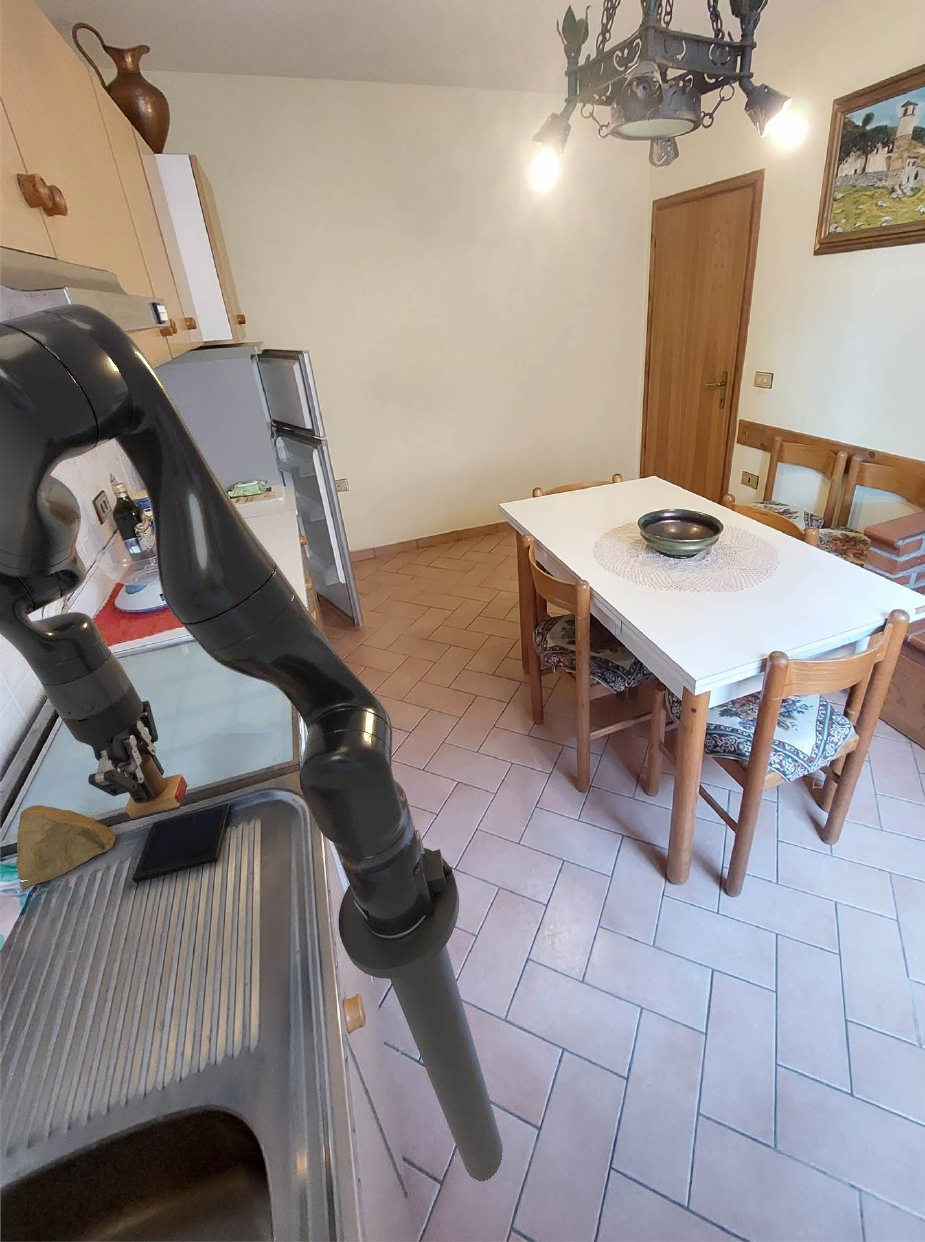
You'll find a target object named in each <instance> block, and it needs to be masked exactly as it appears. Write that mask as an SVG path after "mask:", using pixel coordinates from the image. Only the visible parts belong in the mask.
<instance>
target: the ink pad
mask: <svg viewBox="0 0 925 1242" xmlns="http://www.w3.org/2000/svg"><path fill="white" fill-rule="evenodd" d="M231 811H232V805H231V804H230V803H227V804H222V805H219V806H214V807H210V808H206V809H202V810H198V811H194V812H190V813H187V814H182V815H178V816H174V817H170V818H166V819H161V820H158V821H153V823H152V825H151V828H150V830H149V833H148V836H147V838H146V841H145V844H144V846H143V849H142V852H141V854H140V857H139V859H138V862H137V865H136V867H135V870H134V872H133V875H132V878H131V880H132V881H133V883H135V884H136V883H140V882H145V881H148V880H152V879H155V878H160V877H163V876H167V875H171V874H174V873H178V872H182V871H186V870H189V869H194V868H197V867H202V866H204V865H208V864H213V863H215V862H219V859H220V855H221V851H222V848H223V843H224V839H225V834H226V831H227V828H228V823H229V820H230V815H231Z"/></svg>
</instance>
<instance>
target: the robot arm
mask: <svg viewBox="0 0 925 1242" xmlns="http://www.w3.org/2000/svg"><path fill="white" fill-rule="evenodd" d="M112 440H115V441H116V442H115V443H117V444H118V446H119V447H120V449H121V450H122V452H123V453H124V455H125V456H126V458H127V460H128V461H129V462H130V464H131V466H132V467H133V469H134V472H135V473H136V474H137V476H138V477H139V480H140V482H141V484H142V486H143V488H144V490H145V493H146V496H147V499H148V502H149V506H150V511H151V517H152V518H151V519H152V524H153V534H154V535H153V536H154V544H155V556H156V566H157V572H158V573H157V574H158V579H159V585H160V589H161V593H162V596H163V599H164V601H165V603H166V605H167V607H168V608H169V610H170V612H171V614H172V615H173V616H174V617H175V618H176V619H177V621H178V622H179V623H180V624H181V625H182V626H183V628H185V630H187V632H188V633H189V634H190V636H191V637H192V638H193V639H194V640H195V641H196V643H197V644H198V645H199V646H200V647H201V648H202V650H203V651H204V652H205V653H206V654H207V655H209V657H210V658H211V659H212V660H214V661H215V662H216V663H218V664H219V665H221V666H223V667H224V668H226V669H227V670H230V671H233V672H235V673H238V674H240V675H243V676H246V677H249V678H251V679H255V680H259V681H261V682H265V683H267V684H269V685H272V686H274V687H276V688H277V689H278V690H279V691H280V692H281V693H282V695H284V696H285V697H286V698H287V699H288V701H289V702H290V703H291V705H292V706H293V707H294V708H295V710H296V711H297V713H298V714H299V716H300V717H301V720H302V721H303V722H304V725H305V727H306V732H307V736H306V741H305V744H304V750H303V754H302V759H301V764H300V768H299V786H300V790H301V794H302V796H303V799H304V801H305V804H306V806H307V808H308V809H309V811H310V814H311V815H312V818H313V819H314V822H315V823H316V826H317V827H318V829H319V831H320V833H321V834H322V835H323V836H324V837H325V838H326V839H327V840H328V841H330V842H331V843H333V846H334V849H335V851H336V854H337V856H338V859H339V862H340V864H341V866H342V868H343V871H344V873H345V877H346V878H347V881H348V883H349V885H350V886H351V889H352V891H353V894H354V896H355V898H356V901H357V903H358V905H357V903H356V902H355V901H354V902H355V905H356V906H357V907H358V909H359V910H360V911H361V914H362V917H363V920H364V923H365V925H366V927H367V929H368V930H369V931H370V933H371V934H373V935H374V936H375V937H377V938H380V939H383V940H397V939H401V938H404V937H406V936H408V935H410V934H411V933H413V932H414V931H415V930H417V929H418V928H419V927H420V926H421V925H422V924H423V922H424V921H425V919H426V918H428V917H431V916H434V914H435V911H434V901H433V893H436V892H439V891H443V890H446V889H447V887H446V879H445V878H446V877H448V876H449V875H451V873H452V872H453V867H451V866H450V865H449V866H444V864H443V859H444V858H443V855H442V851H441V849H440V848H438V849H435V850H432V851H431V852H428V853H425V851H424V848H425V847H424V844H423V841H422V837H421V833H420V830H419V829H416V826H415V824H414V820H413V815H412V812H411V809H410V805H409V801H408V798H407V795H406V792H405V789H404V788H403V787H402V785H401V784H400V783H399V782H397V780H395V778H394V775H393V769H392V765H393V764H392V762H393V759H392V756H393V725H392V722H391V719H390V716H389V713H388V711H387V710H386V708H385V706H384V705H383V704H382V703H381V701H380V700H379V699H378V698H377V697H376V696H375V695H374V693H373V692H372V691H370V689H369V688H368V687H367V686H366V685H365V683H364V682H363V681H362V680H361V679H360V678H359V677H358V676H357V675H356V674H355V673H354V672H353V670H352V669H351V668H350V667H349V666H348V665H347V663H345V661H344V660H343V659H342V657H341V656H340V655H339V653H338V652H337V651H336V649H335V648H334V646H333V644H332V643H331V642H330V641H329V639H328V637H327V636H326V634H325V633H324V631H323V630H322V628H321V627H320V625H319V624H318V623H317V622H316V619H315V618H314V617H313V616H312V615H311V613H310V611H309V610H308V608H307V607H306V605H305V604H304V603H303V601H302V599H301V597H300V596H299V594H298V593H297V591H296V589H295V588H294V587H293V586H292V584H291V582H290V581H289V579H288V578H287V576H286V575H285V574H284V573H283V571H282V569H281V568H280V566H279V565H278V563H277V562H276V561H275V559H274V558H273V556H272V555H271V554H270V553H269V552H268V550H267V549H266V547H265V546H264V545H263V543H261V541H260V540H259V538H258V537H257V536H256V534H255V533H254V531H253V530H252V529H251V526H250V525H249V524H248V523H247V521H246V520H245V519H244V517H243V516H242V514H241V513H240V511H239V509H238V508H237V506H236V505H235V503H234V502H233V500H232V499H231V498H230V496H229V494H228V493H227V491H226V489H225V488H224V487H223V485H222V483H221V482H220V480H219V479H218V477H217V476H216V474H215V473H214V471H213V469H212V468H211V466H210V465H209V462H208V461H207V460H206V457H205V455H204V454H203V452H202V450H201V448H200V447H199V445H198V442H197V441H196V440H195V437H194V436H193V434H192V431H190V429H189V427H188V425H187V423H186V422H185V420H184V418H183V416H182V414H181V413H180V411H179V409H178V407H177V406H176V404H175V402H174V400H173V398H172V397H171V395H170V393H169V391H168V390H167V388H166V387H165V384H164V383H163V381H162V380H161V378H160V377H159V375H158V373H157V371H156V370H155V368H154V367H153V365H152V364H151V362H150V361H149V360H148V358H147V357H146V356H145V354H144V353H143V351H142V349H140V347H139V346H138V344H137V343H136V341H134V339H133V338H132V337H131V336H130V335H129V334H128V333H127V332H126V331H125V330H124V329H123V328H122V327H121V326H120V325H119V324H118V322H116V321H115V320H113V319H112V318H111V317H109V316H108V315H106V314H105V313H104V312H102V311H100V310H99V309H96V308H94V307H91V306H89V305H86V304H80V303H69V304H62V305H58V306H54V307H50V308H46V309H42V310H38V311H35V312H33V313H29V314H25V315H21V316H18V317H14V318H10V319H6V320H3V321H0V635H1V636H2V637H3V638H4V639H5V640H7V641H8V642H9V643H10V644H11V645H12V646H13V647H14V648H15V649H16V650H17V651H18V652H19V654H21V656H22V657H23V658H24V659H25V661H26V662H27V664H28V665H29V667H30V669H31V670H32V672H33V673H34V674H35V676H36V678H37V679H38V681H39V682H40V684H41V685H42V688H43V690H44V692H45V695H46V697H47V699H48V700H49V702H50V704H51V705H52V707H53V708H54V710H55V711H56V713H57V714H58V715H59V717H60V719H61V720H62V722H63V723H64V724H65V726H66V727H67V730H68V731H69V732H70V733H71V735H72V736H73V738H74V739H75V740H76V741H77V742H78V743H82V744H85V745H88V746H89V747H91V748H92V750H93V754H94V755H93V756H94V758H95V759H96V762H97V761H98V765H97V769H96V772H94V773H91V774H89V775H88V777H87V782H88V784H89V785H90V786H92V787H94V788H95V789H98V790H100V791H102V792H104V793H106V794H108V795H109V796H112V797H116V796H119V795H123V794H127V793H128V794H129V797H130V796H131V797H132V799H133V800H134V802H135V803H143V802H148V801H151V800H153V799H154V796H155V792H154V791H153V789H152V787H151V786H150V784H149V782H148V781H147V779H146V778H145V777H144V775H143V773H142V771H141V768H140V764H141V763H142V759H141V757H140V754H149V755H150V756H151V758H152V759H153V761H154V763H155V765H156V766H157V768H158V770H159V771H160V773H161V775H162V777H163V775H164V774H165V770H164V768H163V767H162V764H161V762H160V760H159V759H158V756H157V755H156V753H157V748H156V746H155V745H154V743H157V742H158V741H159V734H158V730H157V725H156V722H155V719H154V715H153V711H152V707H151V704H150V703H151V702H150V701H149V700H143V701H142V699H141V698H140V696H139V694H138V692H137V690H136V689H135V687H134V684H133V683H132V681H131V680H130V678H129V676H128V674H127V673H126V671H125V669H124V667H123V665H122V664H121V662H120V661H119V660H118V659H117V657H116V656H115V655H114V653H113V652H112V651H111V650H110V647H109V646H108V644H107V642H106V641H105V639H104V637H103V636H102V633H101V631H100V630H99V628H98V626H97V624H96V622H95V621H94V620H93V619H92V617H91V616H89V615H88V614H86V613H84V612H80V611H71V612H70V611H68V612H63V613H60V614H55V615H52V616H48V617H46V618H45V617H44V618H42V619H36V620H31V618H30V617H29V615H30V614H32V613H34V612H36V611H38V610H40V609H42V608H44V607H46V606H49V605H51V604H53V603H55V602H57V601H59V600H61V599H62V598H65V597H67V596H68V595H70V594H72V593H74V592H75V591H77V590H78V589H79V588H81V586H82V585H83V584H84V583H85V581H86V579H87V575H88V573H87V569H86V566H85V563H84V561H83V560H82V558H81V556H80V555H79V552H78V550H77V547H76V544H77V542H78V541H77V540H78V536H79V533H80V529H81V523H82V512H81V506H80V504H79V502H78V499H77V497H76V496H75V494H74V493H73V491H72V490H71V489H70V488H69V487H68V486H67V485H66V484H65V483H64V482H63V481H61V480H60V479H58V478H57V477H55V476H53V475H52V473H53V471H54V470H55V469H56V468H57V466H59V464H60V463H62V462H64V461H67V460H69V459H74V458H76V457H80V456H83V455H84V454H87V453H89V452H90V451H93V450H95V449H96V448H98V447H100V446H102V445H104V444H106V443H108V442H110V441H112ZM145 728H146V729H145ZM129 760H131V761H129ZM127 771H130V772H132V775H131V776H126V774H125V772H127ZM442 858H443V859H442Z"/></svg>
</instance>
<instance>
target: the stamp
mask: <svg viewBox="0 0 925 1242" xmlns="http://www.w3.org/2000/svg"><path fill="white" fill-rule="evenodd" d="M140 757H141V759H142V763H141V764H140V768H141V771H142V773H143V775H144V777H145V778H146V779H147V781H148V782H149V784H150V786H151V787H152V789H153V791H154V792H155V796H154V799H153V800H151V801H148V802H143V803H135V802H134V800H133V799H132V797H131V796H130V795H129V798H128V800H127V803H126V805H125V807H124V810H125V812H126V813H127V814H128V816H129V817H130V819H131V820H132V821H136V820H140V819H144V818H149V817H153V816H156V815H160V814H164V813H169V812H172V811H177V810H180V809H181V807H182V804H183V800H184V797H185V795H186V792H187V789H188V787H189V786H188V783H187V781H186V779H185V778H184V776H183V774H182V773H179V774H174V775H170V776H166V777H163V776H162V775H161V773H160V771H159V770H158V768H157V766H156V765H155V763H154V761H153V759H152V758H151V756H150V755H149V754H140ZM129 761H131V760H129ZM124 773H125V775H126V776H131V775H132V772H130V771H127V772H124Z"/></svg>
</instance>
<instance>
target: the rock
mask: <svg viewBox="0 0 925 1242" xmlns="http://www.w3.org/2000/svg"><path fill="white" fill-rule="evenodd" d="M17 830H18V831H17V835H16V842H17V843H16V845H17V846H16V850H17V851H16V852H17V855H16V856H17V857H16V861H15V864H16V865H15V866H16V871H17V874H18V877H17V879H20V880H28V881H24V882H20V881H19V889H20V890H25V889H27V888H28V887H30V886H33V885H38V884H40V883H45V882H48V881H53V880H54V879H56V878H59V876H62V875H64V874H67V873H68V872H69V871H71V870H73V869H75V868H76V867H78V866H79V865H82V864H84V863H86V862H87V861H89V860H90V859H92V858H94V857H95V856H98V855H101V854H102V853H105V852H108V851H109V850H110V849H112V848H113V846H114V843H115V841H116V835H115V833H114V832H113V831H112V830H111V829H110V827H109V826H107V825H105V824H103V823H101V822H99V821H97V820H96V819H95V818H93V817H91V816H86V815H83V814H81V813H78V812H76V811H72V810H69V809H60V808H58V807H54V806H53V807H52V806H46V805H42V804H40V805H39V804H37V805H32V806H29V807H26V808H25V809H23V810H22V811H21V812H20V814H19V821H18V826H17Z"/></svg>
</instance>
